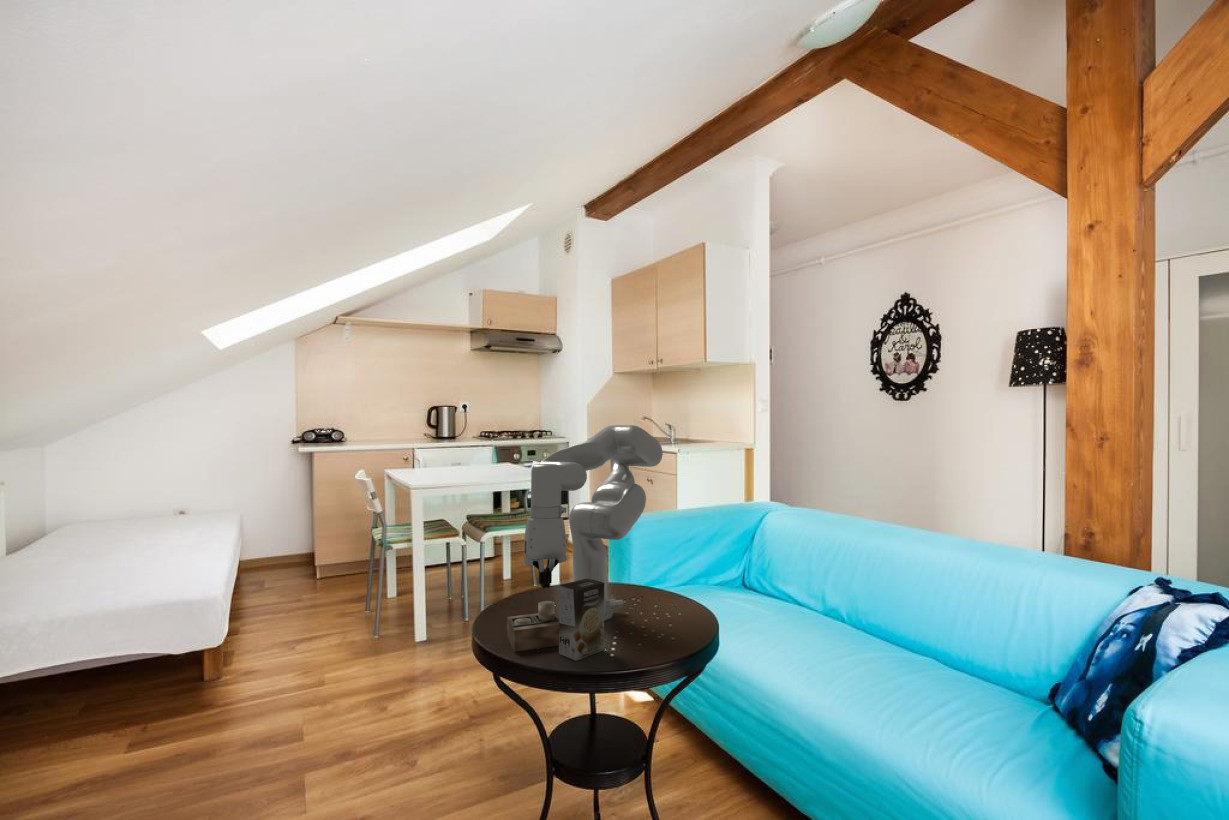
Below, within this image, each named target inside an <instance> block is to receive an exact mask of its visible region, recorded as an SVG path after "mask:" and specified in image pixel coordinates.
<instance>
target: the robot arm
mask: <svg viewBox="0 0 1229 820" xmlns="http://www.w3.org/2000/svg"><path fill="white" fill-rule="evenodd" d="M663 454H664V452H663V447H662V445H661V443H660V441H658V440H657V438H655V437H654V436H653V435H651V434H650V433H649V432H648V431H646V430H645V429H643V428H642V427H640V426H637V425H633V424H632V425H631V424H630V425H629V424H628V425H627V424H626V425H622V424H621V425H620V424H618V425H616V424H614V425H608V426H606V427H604V428H602V429H601V430H599V431H598V432H597V433H595V434H594V435H592V436H591V437H590V438H587V440H585V441H583V442H580V443H577V444H574V445H570V446H568V447H565V448H562V449H560V450H557V451H554V452H552V453H551V454H549V455H548V456H546V457H545V458H544V459H541V461H540V462H539V463H536V464H533V466H532V467H531V473H530V478H531V479H530V517H528V518H527V519H526V525H525V531H524V539H523V541H524V542H523V544H524V545H523V555H524V559H523V563H524V564H525V565H529V566H534V567H535V568H536V569H537V570H538V584H539V585H540V586H541V587H542V588H543V589H546V588H547V589H550V586H551V585H550V584H552V583H553V581H552V577H553V575H552V573H553V571H554V569H555V568H556V567H557V566H558V564H561V563H564V562H566V561H568V560H567V536H566V535H567V534H566V526H565V521H564V517H562V515H563V514H565V513H567V507H563V506H562V491H565V492H566V491H568V492H570V491H571V492H574V491H578V490H581V488H583V487H584V486H585V484H586V483H587V479H588V474H587V473H588V471H592V470H596V469H599V468H601V467H602V466H604V465H605V464H606V463H608V462H609V461H610V472H609V473H608V475H607V476H606V478H605V479H604V480H603V481H602V482H601V484H599V486H598V487H597V488H596V489H595V490H594V492H593V494H592V496H591V502H589V501H586V502H585V501H584V502H580V503H577V504H575V505H574V506H573V507H572V508H571V510H570V513H569V517H568V523H569V530H570V535H571V540H572V542H571V543H572V582H574V581H578V580H583V579H586V578H587V579H591V580H596V581H600V582H603V583H604V622H605V621H608V620H610V619H611V618H612V617H613V609H614V608H621V607H624V605H625V604H624V600H623V599H616V598H611V599H610V598H608V587H607V586H608V582H607V581H608V576H607V575H608V572H607V570H608V569H607V567H608V563H607V562H608V558H607V557H608V556H607V554H608V553H607V548H606V546H605V544H604V541H603V539H604V540H611V541H612V540H613V541H617V540H618V541H619V540H621V539H623V538H625V537H626V536H627V535H628V534H629V533H630V531H631V530H632V528H633V527H634V525H635V524H636V523H637V521H638V520H639V519H640V517H641V515H642V514H643V512H644V510H645V507H646V503H647V495H646V492H645V490H644V488H643V487H642V486H641V485H639V484H638V483H635V482H636V481H635V477H634V475H633V473H632V471H631V470H630V467H644V468H645V467H647V468H649V467H651V468H652V467H656V466H658V465H659V464H660V463H661V461H662V459H663ZM544 560H546V565H545V564H544Z"/></svg>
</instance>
